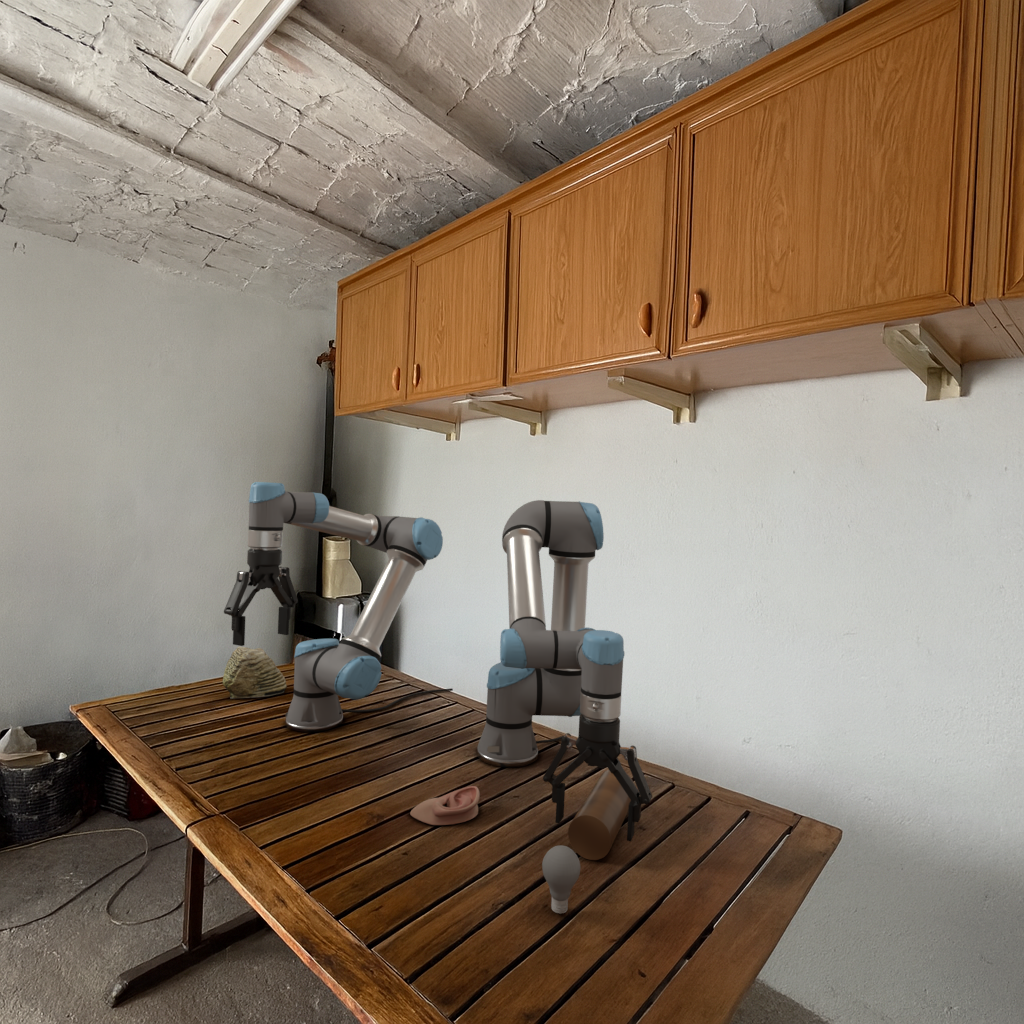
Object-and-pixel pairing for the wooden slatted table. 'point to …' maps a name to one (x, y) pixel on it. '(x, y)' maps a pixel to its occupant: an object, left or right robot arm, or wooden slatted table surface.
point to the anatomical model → (449, 807)
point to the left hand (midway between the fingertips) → (261, 639)
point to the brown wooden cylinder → (599, 818)
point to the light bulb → (560, 875)
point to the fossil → (252, 674)
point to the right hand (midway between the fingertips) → (594, 828)
